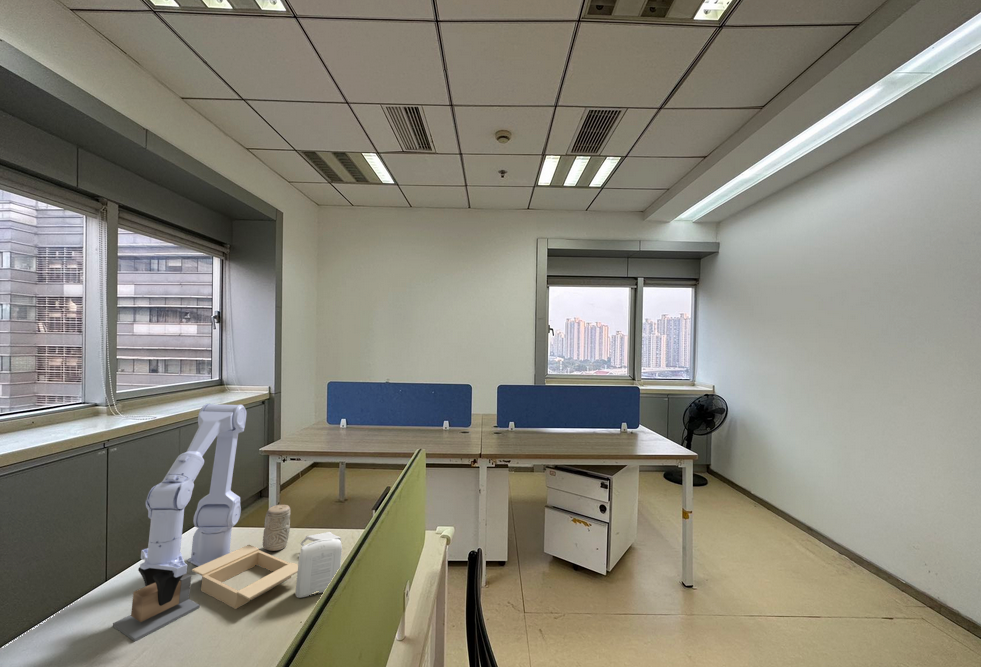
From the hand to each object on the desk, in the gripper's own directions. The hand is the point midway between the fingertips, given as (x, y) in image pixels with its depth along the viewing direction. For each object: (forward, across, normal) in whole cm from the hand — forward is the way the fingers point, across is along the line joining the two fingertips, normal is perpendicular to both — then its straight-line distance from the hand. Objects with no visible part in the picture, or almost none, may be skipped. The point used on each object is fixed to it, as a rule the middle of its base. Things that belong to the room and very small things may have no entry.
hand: (159, 599), depth 86 cm
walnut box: (+2, 0, -1) cm, 2 cm away
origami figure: (+4, +8, +37) cm, 38 cm away
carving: (+4, -5, +32) cm, 33 cm away
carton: (+4, +5, +17) cm, 18 cm away
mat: (+4, 0, 0) cm, 4 cm away
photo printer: (+4, +22, +24) cm, 33 cm away
